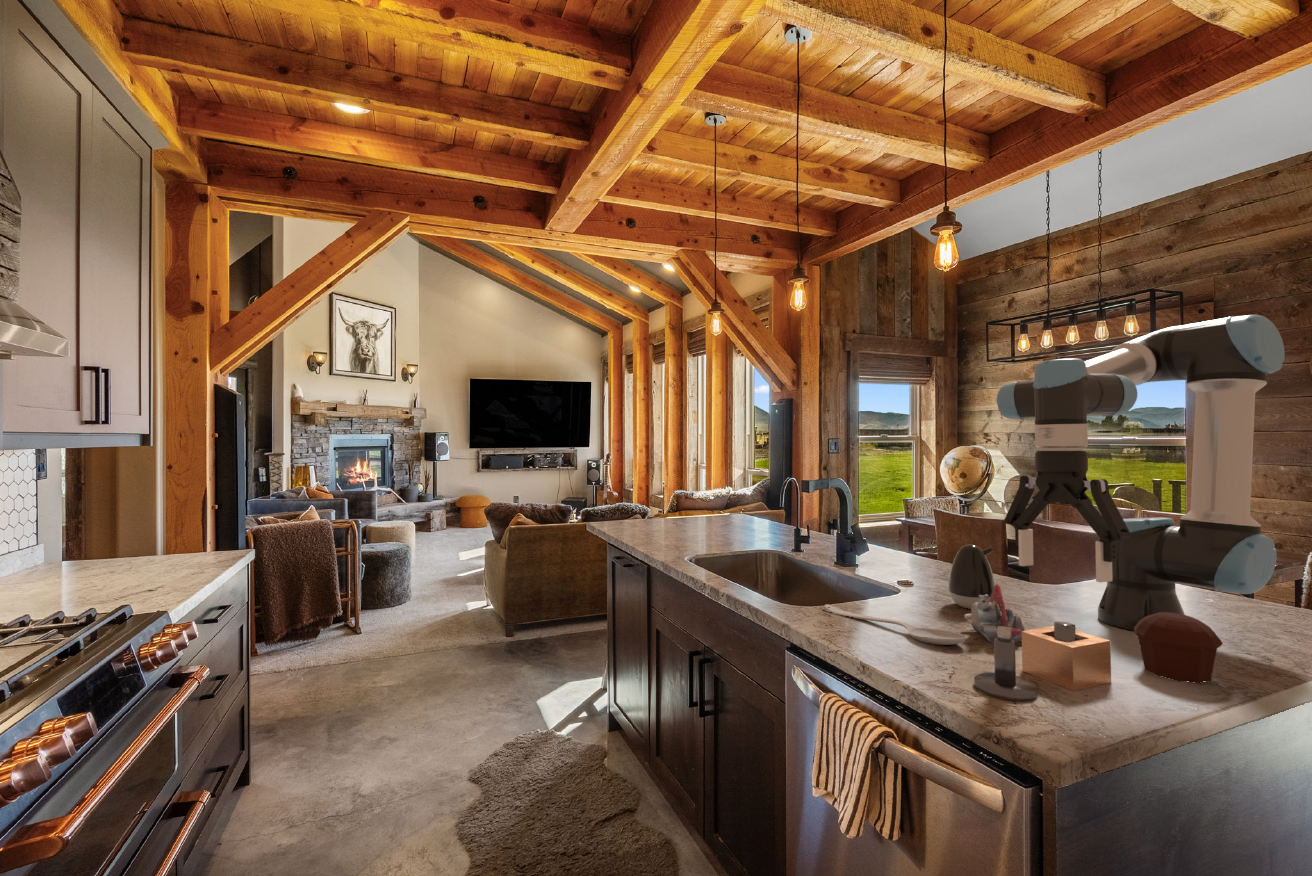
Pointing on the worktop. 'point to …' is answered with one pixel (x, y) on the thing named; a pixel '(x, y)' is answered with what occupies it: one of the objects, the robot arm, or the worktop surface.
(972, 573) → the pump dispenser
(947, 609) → the worktop surface
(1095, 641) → the collar
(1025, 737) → the worktop surface
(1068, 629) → the stand rod
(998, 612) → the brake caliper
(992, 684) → the cylinder
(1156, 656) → the muffin
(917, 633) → the spoon
